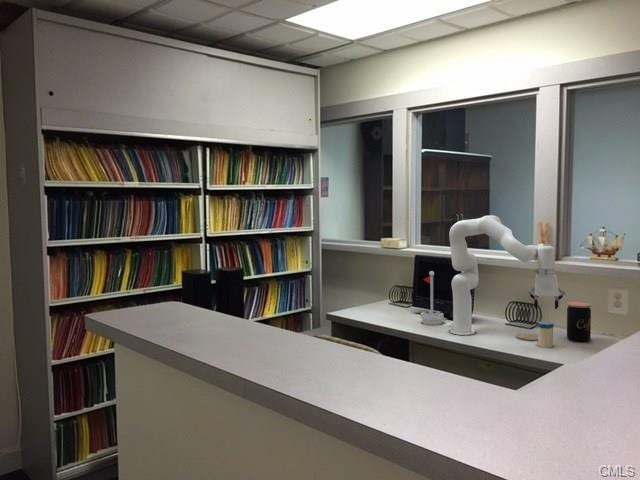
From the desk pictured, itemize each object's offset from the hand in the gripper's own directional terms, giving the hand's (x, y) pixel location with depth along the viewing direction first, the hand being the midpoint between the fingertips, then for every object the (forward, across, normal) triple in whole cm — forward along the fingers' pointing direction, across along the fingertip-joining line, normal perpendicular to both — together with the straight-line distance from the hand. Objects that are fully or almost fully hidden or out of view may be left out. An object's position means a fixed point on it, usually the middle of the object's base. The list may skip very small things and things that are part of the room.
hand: (546, 308), depth 256 cm
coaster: (+18, -7, +13) cm, 24 cm away
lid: (+7, 0, 0) cm, 7 cm away
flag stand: (+18, -59, +36) cm, 71 cm away
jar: (+18, 0, 0) cm, 18 cm away
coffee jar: (+18, +16, +16) cm, 29 cm away
